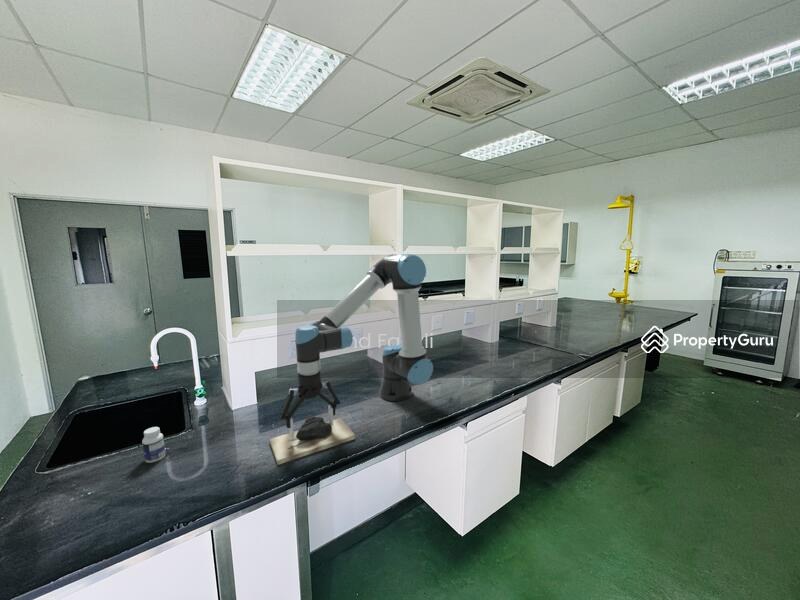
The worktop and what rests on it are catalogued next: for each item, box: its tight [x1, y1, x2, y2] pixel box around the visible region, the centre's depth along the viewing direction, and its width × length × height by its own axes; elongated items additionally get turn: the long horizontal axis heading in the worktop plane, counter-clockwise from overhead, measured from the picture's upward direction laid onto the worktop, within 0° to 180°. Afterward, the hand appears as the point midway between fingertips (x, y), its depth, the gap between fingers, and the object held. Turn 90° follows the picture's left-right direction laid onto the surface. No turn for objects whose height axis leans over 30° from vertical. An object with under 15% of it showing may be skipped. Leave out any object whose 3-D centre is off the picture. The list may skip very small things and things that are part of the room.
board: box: [268, 418, 356, 466], centre depth 111 cm, size 26×14×2 cm, turn 122°
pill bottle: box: [141, 426, 166, 464], centre depth 102 cm, size 5×5×10 cm
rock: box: [296, 416, 332, 441], centre depth 111 cm, size 10×6×10 cm
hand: (312, 430), depth 111 cm, fingers open, 13 cm apart
